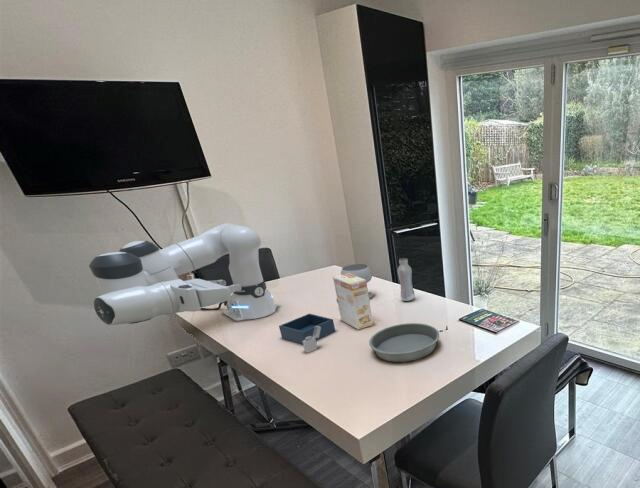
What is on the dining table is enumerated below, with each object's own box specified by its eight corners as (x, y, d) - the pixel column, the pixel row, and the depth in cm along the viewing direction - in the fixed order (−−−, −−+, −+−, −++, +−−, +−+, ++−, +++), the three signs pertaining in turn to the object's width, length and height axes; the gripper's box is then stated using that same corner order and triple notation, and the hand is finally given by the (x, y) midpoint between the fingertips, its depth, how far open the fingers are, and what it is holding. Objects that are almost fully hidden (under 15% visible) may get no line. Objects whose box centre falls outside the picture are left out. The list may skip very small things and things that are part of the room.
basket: (282, 338, 157) (278, 325, 155) (312, 325, 168) (309, 313, 166) (305, 345, 151) (302, 332, 149) (335, 331, 162) (332, 319, 160)
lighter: (307, 352, 146) (302, 332, 142) (304, 351, 147) (299, 331, 143) (325, 345, 151) (320, 325, 148) (322, 344, 152) (317, 324, 149)
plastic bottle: (418, 299, 195) (413, 258, 187) (407, 303, 189) (402, 261, 181) (408, 296, 198) (403, 256, 190) (398, 301, 193) (392, 259, 185)
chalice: (347, 304, 189) (341, 273, 183) (342, 295, 201) (337, 266, 195) (378, 298, 196) (373, 268, 190) (371, 290, 207) (367, 261, 201)
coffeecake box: (374, 324, 168) (366, 279, 160) (357, 330, 163) (349, 283, 155) (356, 315, 177) (348, 272, 169) (340, 320, 172) (331, 276, 165)
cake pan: (383, 333, 160) (382, 322, 158) (445, 333, 159) (444, 322, 158) (360, 364, 138) (358, 352, 136) (432, 365, 137) (431, 353, 135)
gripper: (166, 300, 119) (218, 289, 129) (197, 312, 108) (251, 299, 119) (159, 279, 116) (213, 270, 127) (190, 289, 106) (246, 278, 117)
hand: (232, 284), depth 123 cm, fingers open, 8 cm apart
